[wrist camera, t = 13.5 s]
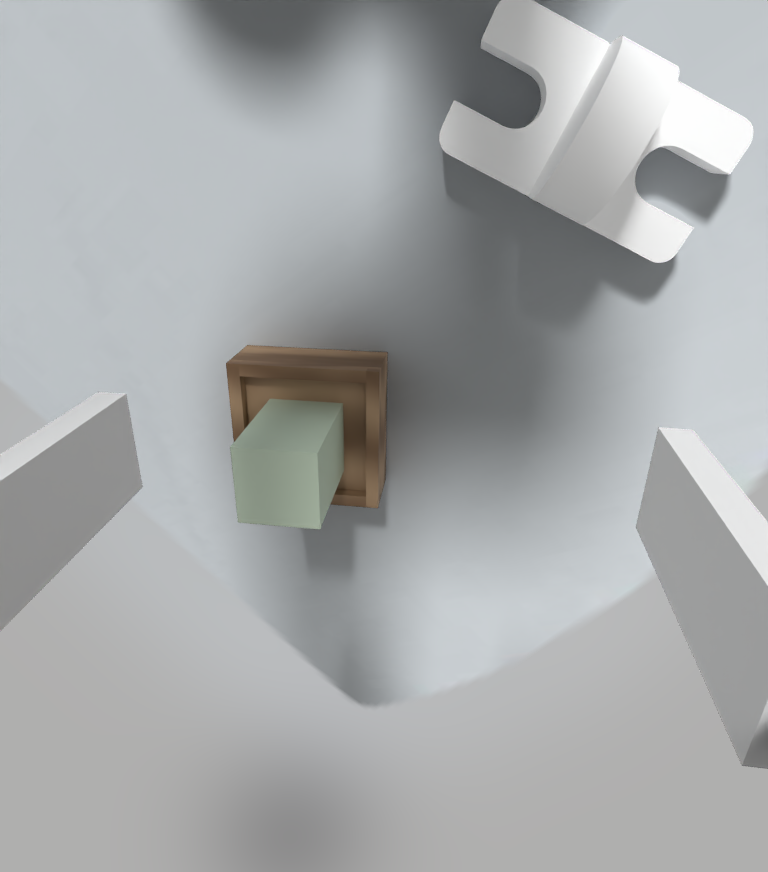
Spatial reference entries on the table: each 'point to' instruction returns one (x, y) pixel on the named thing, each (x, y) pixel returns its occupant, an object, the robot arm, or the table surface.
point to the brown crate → (322, 382)
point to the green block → (289, 463)
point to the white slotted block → (594, 127)
